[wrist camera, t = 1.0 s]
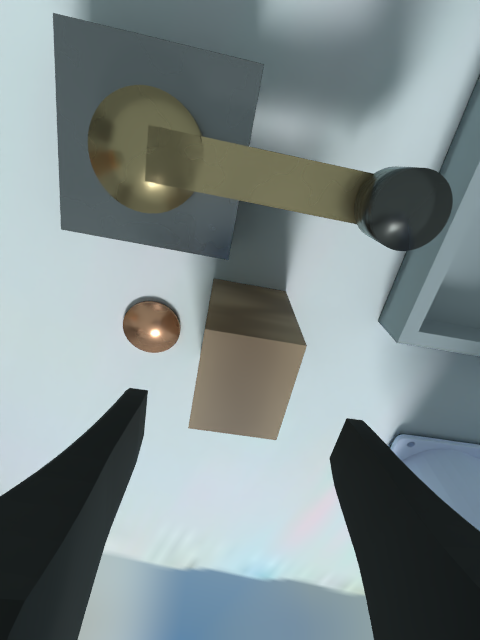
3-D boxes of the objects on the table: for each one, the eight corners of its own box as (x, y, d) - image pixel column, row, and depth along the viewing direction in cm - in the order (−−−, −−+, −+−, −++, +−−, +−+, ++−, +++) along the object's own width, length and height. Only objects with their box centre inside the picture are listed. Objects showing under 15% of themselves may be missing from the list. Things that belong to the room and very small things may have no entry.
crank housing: (258, 82, 14) (263, 64, 12) (208, 359, 20) (204, 390, 18) (89, 41, 14) (53, 12, 11) (89, 341, 20) (66, 370, 17)
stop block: (285, 290, 18) (306, 345, 13) (265, 366, 21) (276, 440, 15) (213, 278, 18) (204, 328, 13) (200, 355, 20) (188, 428, 15)
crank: (97, 199, 13) (65, 208, 11) (98, 78, 12) (60, 56, 9) (389, 255, 14) (423, 276, 12) (430, 153, 13) (478, 153, 10)
